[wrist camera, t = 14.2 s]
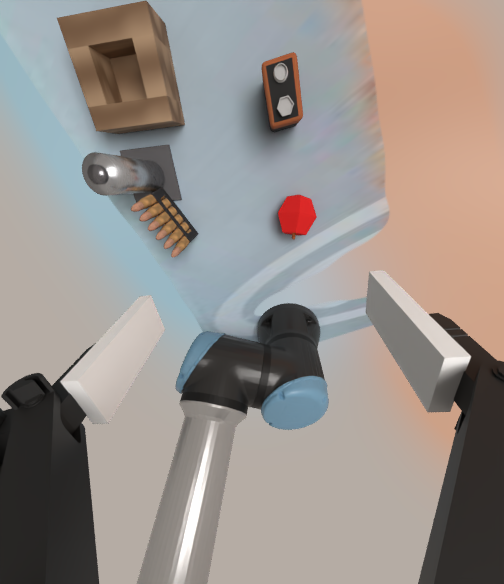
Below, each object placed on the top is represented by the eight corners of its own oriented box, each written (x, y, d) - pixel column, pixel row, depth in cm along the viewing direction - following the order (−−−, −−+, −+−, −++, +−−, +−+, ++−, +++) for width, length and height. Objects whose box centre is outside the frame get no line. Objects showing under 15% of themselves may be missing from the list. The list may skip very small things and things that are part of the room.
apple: (286, 186, 39) (279, 236, 40) (324, 193, 40) (317, 241, 42) (275, 195, 46) (269, 237, 47) (308, 200, 47) (302, 242, 48)
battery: (271, 133, 40) (271, 127, 31) (262, 81, 37) (260, 59, 28) (297, 125, 39) (304, 117, 31) (291, 72, 36) (297, 46, 27)
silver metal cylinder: (167, 190, 45) (119, 193, 32) (142, 193, 45) (86, 197, 33) (160, 158, 42) (106, 149, 30) (134, 162, 43) (71, 154, 31)
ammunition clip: (155, 192, 45) (122, 208, 35) (161, 186, 45) (130, 201, 35) (191, 238, 50) (172, 263, 40) (198, 233, 49) (180, 258, 39)
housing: (184, 124, 40) (172, 120, 35) (118, 133, 42) (96, 131, 36) (165, 23, 34) (146, 0, 29) (88, 37, 36) (56, 18, 30)
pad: (181, 199, 46) (181, 199, 46) (137, 203, 47) (136, 203, 47) (169, 144, 42) (168, 144, 41) (120, 150, 43) (119, 150, 42)
